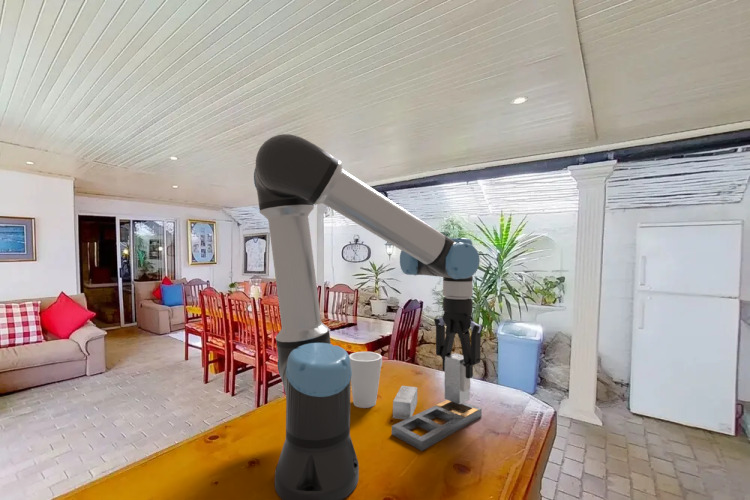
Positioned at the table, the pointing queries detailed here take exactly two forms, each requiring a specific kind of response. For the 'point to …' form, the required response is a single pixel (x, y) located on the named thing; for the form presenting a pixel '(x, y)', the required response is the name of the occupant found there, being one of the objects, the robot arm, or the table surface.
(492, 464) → the table surface
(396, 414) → the block
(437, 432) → the grey flat frame
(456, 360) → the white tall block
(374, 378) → the foam cup
